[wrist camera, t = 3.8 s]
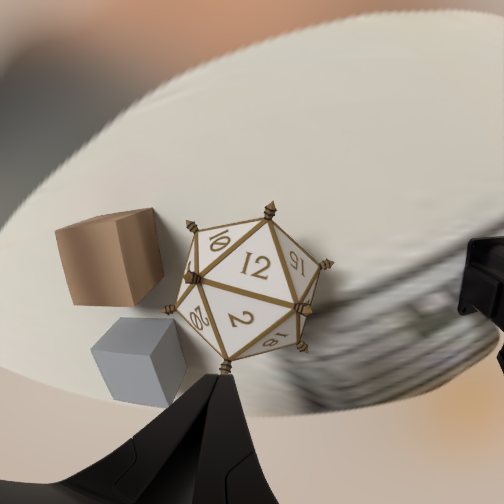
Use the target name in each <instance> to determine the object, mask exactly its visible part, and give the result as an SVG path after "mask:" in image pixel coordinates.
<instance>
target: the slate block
mask: <svg viewBox="0 0 504 504" xmlns="http://www.w3.org/2000/svg"><path fill="white" fill-rule="evenodd" d="M90 350H91V352H92V354H93V357H94V359H95V361H96V364H97V366H98V368H99V370H100V372H101V375H102V377H103V379H104V381H105V383H106V385H107V387H108V389H109V391H110V393H111V395H112V397H113V399H114V400H118V401H123V402H128V403H134V404H140V405H146V406H153V407H160V408H168V407H169V406H170V405H171V404H172V403H173V400H174V398H175V396H176V393H177V391H178V389H179V386H180V384H181V382H182V379H183V377H184V375H185V372H186V370H187V366H186V363H185V359H184V356H183V352H182V349H181V345H180V341H179V337H178V333H177V329H176V325H175V321H174V319H162V318H122V317H120V318H119V319H118V321H117V322H116V323H115V324H114V325H113V326H112V327H111V328H110V329H109V330H108V331H107V332H106V333H105V334H104V335H103V336H102V337H101V338H100V340H99V341H98V342H97V343H96V344H95V345H94V346H93V347H92V348H91V349H90Z"/></svg>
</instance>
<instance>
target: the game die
mask: <svg viewBox="0 0 504 504" xmlns="http://www.w3.org/2000/svg"><path fill="white" fill-rule="evenodd" d="M275 211H277V210H276V208H275V205H274V201H272V202H271V203H270V204H269V205H267V206H266V207H265V211H264V213H265V217H264V218H258V219H253V220H248V221H242V222H237V223H232V224H227V225H222V226H217V227H212V228H207V229H202V230H199V229H198V228H197V225H196V224H195V222H192V221H188V220H186V224H187V227H186V228H187V229H189V231H190V232H193V233H194V237H193V240H192V244H191V247H190V251H189V254H188V258H187V261H186V265H185V268H184V272H183V276H182V279H181V283H180V287H179V290H178V294H177V298H176V302H175V305H169V306H165V308H164V309H163V310H162V311H161V312H163V313H166V314H168V315H169V314H171V313H172V314H173V313H174V312H175V311H177V312H178V313H179V314H180V315H181V316H182V317H183V318H184V319H185V320H186V321H187V322H188V323H189V325H190V326H191V327H192V328H193V329H194V330H195V331H196V332H197V333H198V334H199V335H200V336H201V337H202V338H203V339H204V340H205V341H206V342H207V343H208V344H209V345H210V346H211V347H212V348H213V349H214V350H215V351H216V352H217V353H218V354H219V355H220V356H221V357H222V358H223V359H224V362H223V363H222V364H221V368H219V370H220V371H221V374H228V373H231V371H230V370H231V368H232V366H231V362H232V361H235V360H239V359H243V358H247V357H251V356H255V355H259V354H262V353H266V352H270V351H273V350H277V349H280V348H284V347H287V346H290V345H294V344H296V345H297V349H299V350H300V352H307V353H308V345H307V344H305V343H304V342H302V341H300V339H301V336H302V333H303V330H304V326H305V323H306V320H307V316H308V315H309V314H311V313H313V312H312V310H311V308H310V306H311V303H312V299H313V296H314V292H315V289H316V285H317V281H318V278H319V274H320V270H321V269H324V270H326V269H327V268H328V269H330V268H331V266H332V265H333V264H334V262H333V261H330V260H328V259H326V260H325V261H322V262H321V263H319V264H318V263H317V262H316V261H315V260H314V259H313V258H312V257H311V256H310V255H309V254H308V253H307V252H306V251H305V250H304V249H303V248H302V247H300V246H299V245H298V244H297V243H296V242H295V241H294V240H293V239H292V238H291V237H290V236H289V235H288V234H287V233H286V232H284V231H283V230H282V229H281V228H280V227H279V226H278V225H277V224H276V223H275V222H274V221H273V220H272V218H273V216H275Z"/></svg>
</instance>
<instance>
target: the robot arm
mask: <svg viewBox="0 0 504 504" xmlns="http://www.w3.org/2000/svg"><path fill="white" fill-rule="evenodd" d="M473 244H474V247H473ZM463 308H464V309H463ZM478 311H479V312H480V313H481V314H482V315H483V316H485V317H486V318H487V319H490V320H491V321H492V322H493V323H494V324H495V325H496V326H498V327H499V328H500V329H501V330H502V331H503V332H504V236H498V237H485V238H473V239H471V240H470V241H469V243H468V251H467V259H466V267H465V274H464V280H463V286H462V291H461V297H460V302H459V306H458V312H459V313H460V314H461V315H465V314H470V313H474V312H478ZM497 360H498V362H499V364H500V366H501V369H502V371H503V373H504V344H503V346H502V349H501V350H500V351H499V353H498V355H497ZM0 504H279V503H278V501H277V499H276V498H275V496H274V494H273V493H272V491H271V489H270V487H269V485H268V483H267V481H266V479H265V477H264V474H263V472H262V469H261V466H260V464H259V461H258V458H257V454H256V452H255V449H254V446H253V442H252V439H251V436H250V432H249V429H248V426H247V422H246V419H245V416H244V412H243V409H242V405H241V402H240V398H239V395H238V391H237V387H236V384H235V380H234V377H233V375H232V374H221V375H218V374H205V375H204V376H203V377H202V378H201V379H200V380H198V381H197V382H196V383H195V384H194V385H193V386H192V387H191V388H189V389H188V390H187V391H186V392H185V393H184V394H183V395H182V396H180V397H179V398H178V399H177V400H176V401H175V402H173V403H172V404H171V405H170V406H169V407H168V408H166V409H165V410H164V411H163V412H162V413H161V414H159V415H158V416H157V417H156V418H155V419H153V420H152V421H151V422H150V423H149V424H147V425H146V426H145V427H144V428H143V429H141V430H140V431H139V432H138V433H136V434H135V435H134V436H133V439H132V438H130V439H129V440H128V441H126V442H125V443H124V444H122V445H121V446H120V447H118V448H117V449H116V450H114V451H113V452H112V453H110V454H109V455H107V456H105V457H104V458H102V459H101V460H99V461H98V462H96V463H94V464H92V465H91V466H89V467H87V468H85V469H83V470H82V471H80V472H78V473H77V474H74V475H72V476H71V477H69V478H67V479H65V480H62V481H59V482H56V483H50V484H37V483H23V482H13V481H6V480H0Z"/></svg>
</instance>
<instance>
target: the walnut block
mask: <svg viewBox="0 0 504 504" xmlns="http://www.w3.org/2000/svg"><path fill="white" fill-rule="evenodd" d="M55 235H56V240H57V245H58V249H59V253H60V258H61V262H62V266H63V270H64V273H65V277H66V281H67V284H68V288H69V291H70V294H71V297H72V301H73V304H74V305H83V306H114V307H135V306H136V305H137V304H138V303H139V302H140V301H141V300H142V299H143V298H144V297H145V295H146V294H147V293H148V292H149V291H150V290H151V289H152V288H153V287H154V286H155V285H156V284H157V283H158V282H159V281H160V280H161V279H162V278H163V277H164V272H163V267H162V262H161V257H160V251H159V246H158V240H157V234H156V228H155V222H154V215H153V208H145V209H138V210H132V211H125V212H119V213H113V214H107V215H101V216H96V217H93V218H90V219H87V220H84V221H81V222H78V223H75V224H72V225H70V226H67V227H64V228H61V229H58V230H56V231H55Z"/></svg>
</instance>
